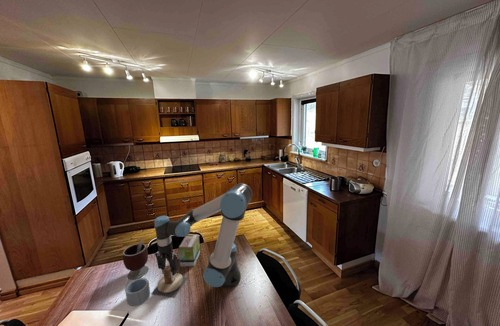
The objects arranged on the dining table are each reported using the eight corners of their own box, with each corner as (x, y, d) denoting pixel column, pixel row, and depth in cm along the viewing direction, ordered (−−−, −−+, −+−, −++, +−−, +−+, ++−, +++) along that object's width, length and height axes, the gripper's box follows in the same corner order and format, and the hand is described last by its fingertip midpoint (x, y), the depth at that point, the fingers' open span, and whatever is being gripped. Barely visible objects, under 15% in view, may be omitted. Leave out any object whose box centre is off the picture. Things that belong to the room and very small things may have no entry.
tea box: (194, 266, 136) (193, 247, 133) (180, 267, 136) (177, 247, 134) (200, 252, 151) (198, 234, 148) (187, 253, 151) (185, 235, 148)
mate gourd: (139, 282, 124) (135, 253, 120) (120, 279, 127) (115, 250, 123) (156, 265, 139) (152, 238, 135) (138, 263, 142) (134, 237, 138)
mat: (188, 278, 126) (188, 277, 126) (174, 298, 111) (174, 297, 111) (166, 275, 129) (166, 274, 129) (150, 294, 115) (150, 294, 114)
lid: (187, 275, 125) (185, 261, 123) (174, 294, 111) (172, 278, 110) (166, 273, 128) (164, 259, 126) (152, 290, 114) (149, 275, 113)
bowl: (154, 291, 117) (152, 279, 115) (140, 308, 106) (138, 295, 105) (137, 288, 119) (135, 277, 118) (122, 305, 109) (120, 292, 107)
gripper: (181, 240, 117) (186, 275, 121) (155, 238, 120) (161, 273, 125) (174, 248, 109) (179, 285, 114) (147, 245, 113) (152, 282, 117)
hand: (169, 279), depth 119 cm, fingers closed on lid, 4 cm apart
